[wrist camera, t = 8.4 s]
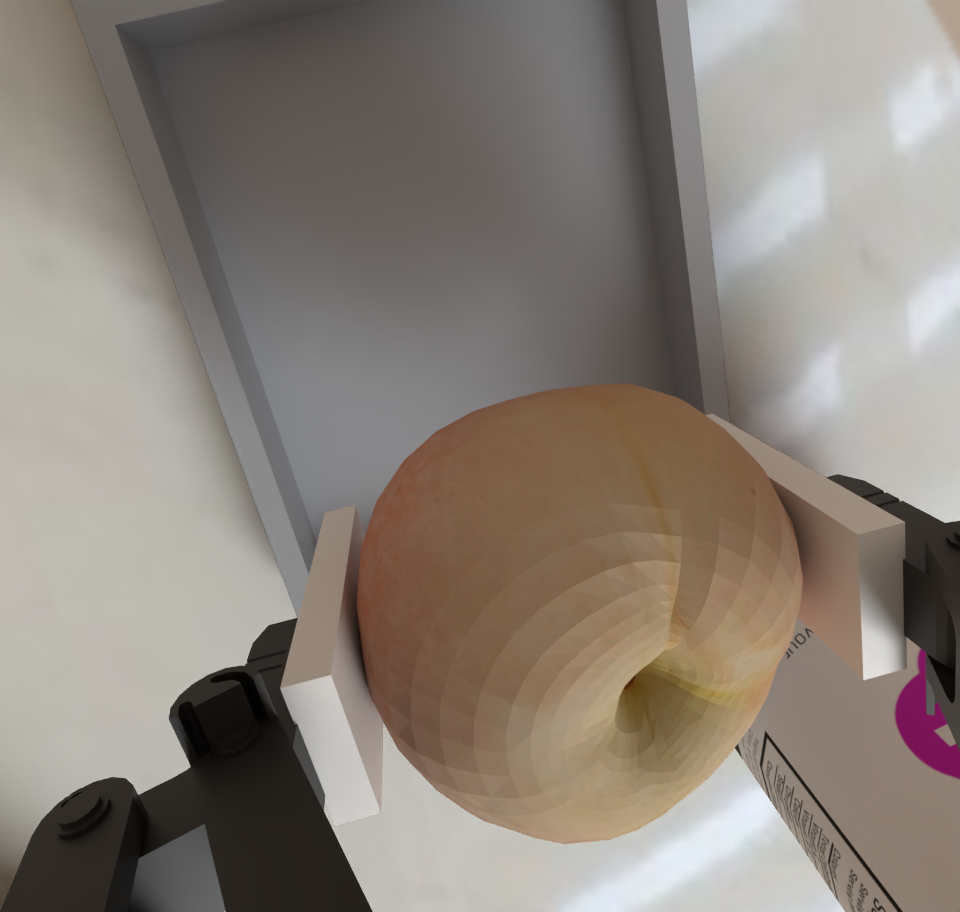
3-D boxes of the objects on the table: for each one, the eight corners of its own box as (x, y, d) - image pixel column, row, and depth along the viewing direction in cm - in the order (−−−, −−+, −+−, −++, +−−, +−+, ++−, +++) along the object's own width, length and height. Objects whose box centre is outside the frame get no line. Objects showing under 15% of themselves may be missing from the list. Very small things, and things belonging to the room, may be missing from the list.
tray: (319, 606, 25) (310, 653, 22) (116, 31, 19) (67, -6, 16) (703, 504, 26) (742, 538, 23) (630, -83, 19) (671, -137, 17)
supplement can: (698, 509, 26) (1074, 841, 12) (886, 533, 27) (1426, 855, 13) (646, 688, 28) (906, 1148, 14) (822, 702, 29) (1221, 1131, 15)
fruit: (652, 649, 18) (830, 935, 11) (358, 642, 17) (330, 958, 10) (713, 363, 16) (994, 477, 9) (376, 333, 15) (359, 434, 7)
